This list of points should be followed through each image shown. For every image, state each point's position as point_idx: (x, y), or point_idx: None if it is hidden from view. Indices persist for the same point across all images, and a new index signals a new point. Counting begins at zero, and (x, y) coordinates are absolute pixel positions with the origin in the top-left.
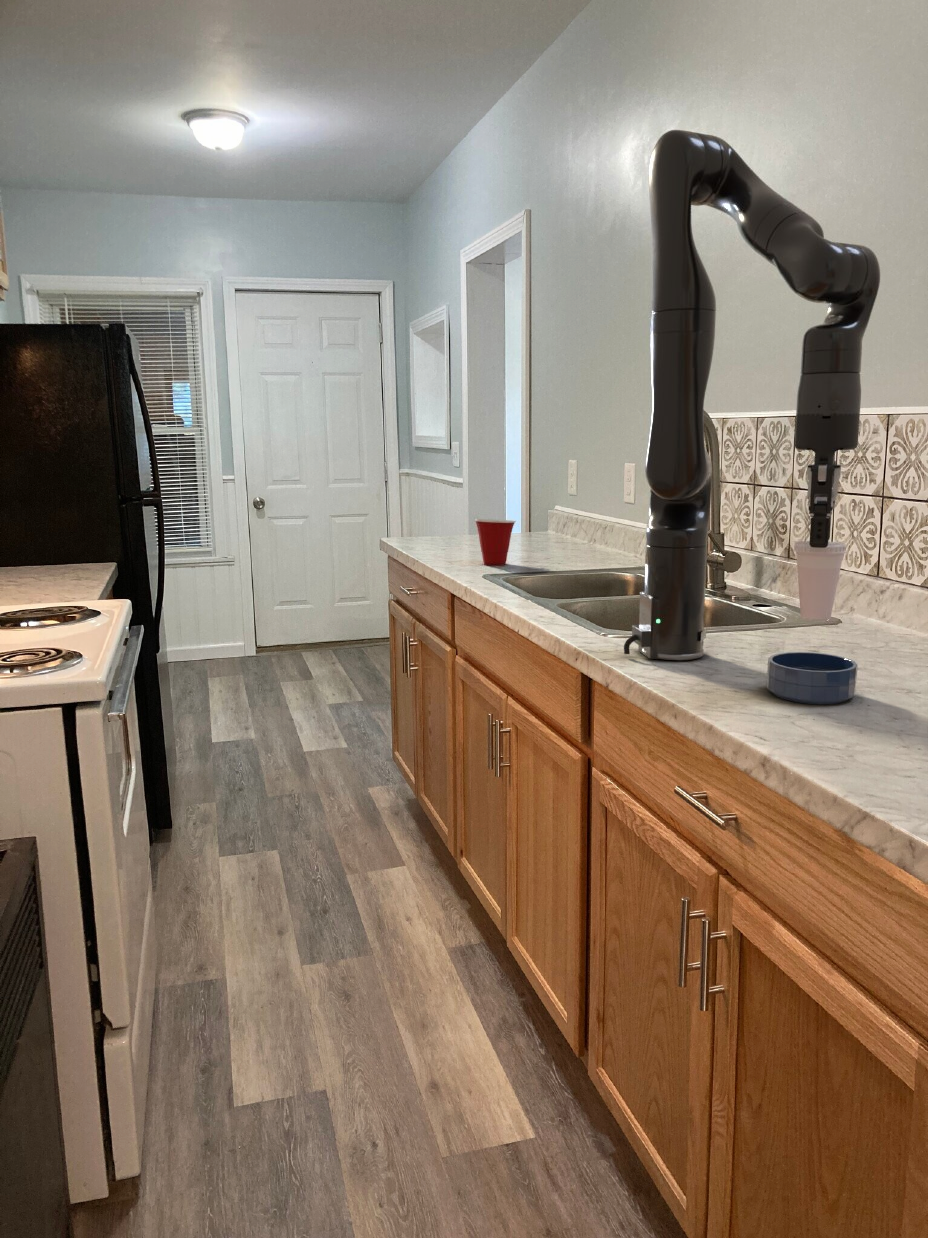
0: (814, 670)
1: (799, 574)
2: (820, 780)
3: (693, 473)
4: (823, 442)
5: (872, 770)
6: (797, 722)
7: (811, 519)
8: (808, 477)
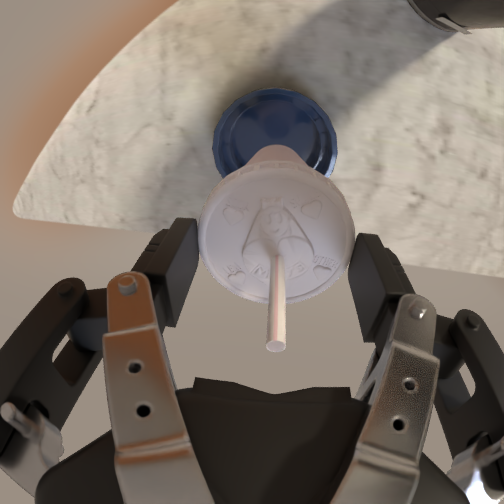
0: (319, 151)
1: (255, 160)
2: (35, 166)
3: None
4: None
5: (64, 196)
6: (150, 129)
7: (146, 269)
8: (134, 448)
